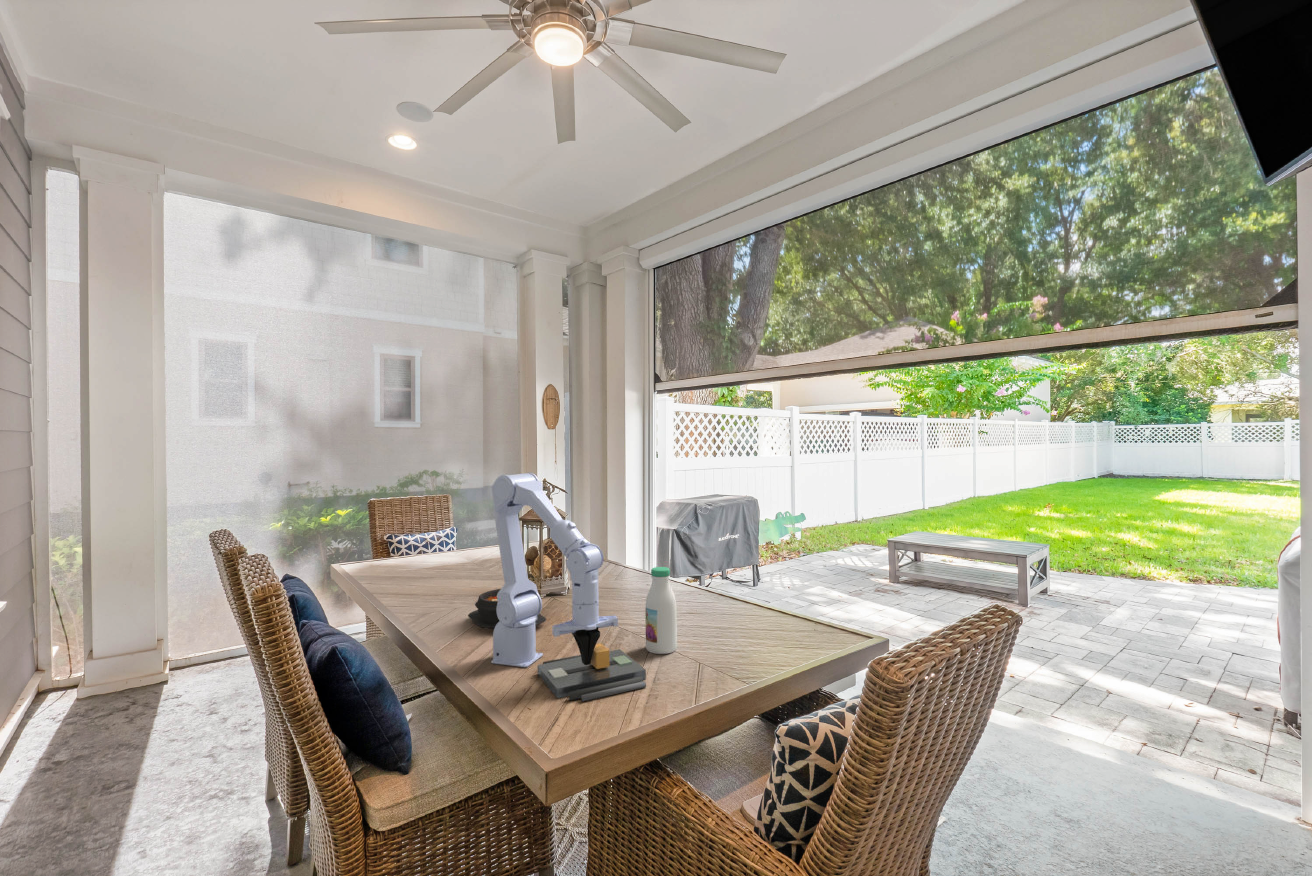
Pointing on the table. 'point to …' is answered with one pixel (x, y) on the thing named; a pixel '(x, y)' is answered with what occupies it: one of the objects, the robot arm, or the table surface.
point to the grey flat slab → (587, 673)
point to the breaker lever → (600, 656)
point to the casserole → (491, 611)
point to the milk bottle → (661, 614)
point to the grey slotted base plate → (604, 687)
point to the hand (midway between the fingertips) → (586, 663)
